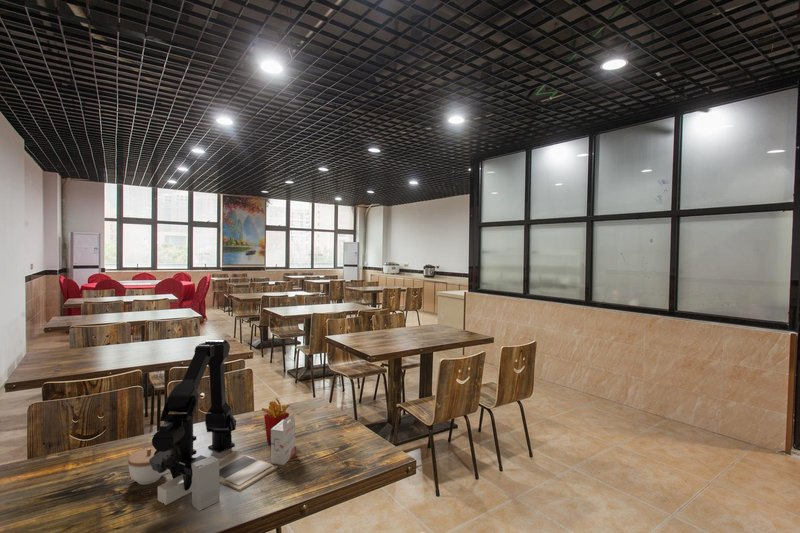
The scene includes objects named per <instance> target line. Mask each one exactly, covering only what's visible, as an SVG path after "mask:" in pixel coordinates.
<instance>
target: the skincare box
mask: <svg viewBox="0 0 800 533" xmlns="http://www.w3.org/2000/svg"><path fill="white" fill-rule="evenodd" d="M192 474H193V476H192V491H191V505H192V506H193V507H194V508H195V509H196V510H197V511H198V512H199V511H201V510H204V509H205V508H208V507H210V506H212V505H214V504H216V503H218V502H220V499H221V498H220V497H221V496H220V492H221V491H220V483H219V458H216V457H215V456H213V455H211V456H208V457H207V458H205V459H203V460H200V461H197V462H195V463H192Z"/></svg>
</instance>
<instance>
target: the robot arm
mask: <svg viewBox="0 0 800 533" xmlns="http://www.w3.org/2000/svg"><path fill="white" fill-rule="evenodd" d="M230 350H231V345H230V343H229V341H227V340H226V339H207V340H205V342H202V343H199V344H198V345H196V346H195V348H194V355H193V356H192V359H191V361H190V363H189V365H188V368H187V369H186V371H185V374H184V376H183V378H182V380H181V382H180V383H179V384H176V385H175V386H174V387H173V388H172V390H171V392H170V393H169V395H168V396H167V397H166V400H165V402H164V406H163V408H162V411H161V414H160V418H159V421H160V422H164V423H163V424H161V425H160V426H159V430H158V431H156V432H155V433H154V435H153V436H152V439H151V444H152V447H154V448H155V449H156V452H155V453H154V456H153V457H152V458H150V460H149V462H150V464H151V466H152V469H153V470H154V471H157V472H159V473H163V472H164V473H165V472H166V471H167V470H169V472H170V475H171V477H172V479H174V478H176V477H178V476H180V475H182V474H183V481H184V488H185V490H186V491H187V490H188V489H189V488H190V486H191V484H192V476H193V474H192V463H195V462H197V461H200V460H203V459H205V458H208V457H207V456H204V455H202V454H201V455H198V456H196V457H193V456H194V455H196V454H197V450H196V449H195V448H194V442H195V441H197V435H194V415H195V414H196V412H197V411H196V409H197V407H198V404H199V398H200V394H199V390H198V389H199V386H200V383H201V381H202V379H203V376H204V374H205V371H206V369H207V368H208V372H209V373H208V374H209V390H210V395H209V396H210V407H209V409H208V411H207V412H206V414H205V416H204V417H205V422H204V424H205V428H206V432H207V433H211V434H212V436H211V437H212V438H211V440H212V441H211V444H210V445H208V449H210V450H212V451H216V452H218V453H221V452H223V451H225V450H227V449H230V448H231V447H233V446H235V445H236V444H235V443H234V442H232V440H233V439H232V436H233V435H232V432H233V431H236V430H237V429H236V426H237V420H236V418H235V417H234V416H233V411H232V407H231V406H230V405H229V404H228V403H227V400H226V399H227V397H226V376H225V375H226V374H225V362H226V361H227V359H228V358H229V356H230V355H229V354H230Z"/></svg>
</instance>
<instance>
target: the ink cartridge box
mask: <svg viewBox="0 0 800 533" xmlns="http://www.w3.org/2000/svg"><path fill="white" fill-rule="evenodd" d="M295 454H296V418H295V412H292V413H291V414H289V417H288V418H286V419H285V420H282V421H281V422H279V423H278V424H277V425H276V426H274V427H273V428H272V429H271V442H270V464H273V465H281V466H285V465H286V464H287V462H288V461H290V459H292V457H293V456H294V455H295Z"/></svg>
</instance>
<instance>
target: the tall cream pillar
mask: <svg viewBox="0 0 800 533" xmlns="http://www.w3.org/2000/svg"><path fill="white" fill-rule="evenodd" d="M189 493H192V484H191V486H190V488H189V489H188V490H187V491H186V490H185V488H184V481H183V474H182V475H180V476H178V477H176V478H174V479H173V478H172V479H171V480H168V481H166V482H164V483H162V484H160V485H158V486H157V501H158V502H159V503H162V504H163V503H164V504H163V505H166V506H167V505H169V504H171V503H172V502H175V501H176V500H178V499H180V498H182V497H184V496H186V495H188V494H189Z"/></svg>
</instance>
